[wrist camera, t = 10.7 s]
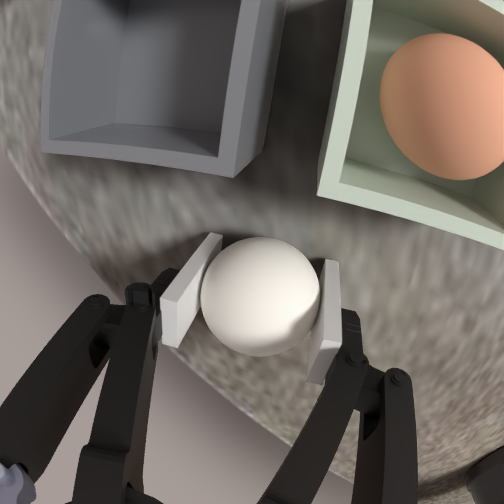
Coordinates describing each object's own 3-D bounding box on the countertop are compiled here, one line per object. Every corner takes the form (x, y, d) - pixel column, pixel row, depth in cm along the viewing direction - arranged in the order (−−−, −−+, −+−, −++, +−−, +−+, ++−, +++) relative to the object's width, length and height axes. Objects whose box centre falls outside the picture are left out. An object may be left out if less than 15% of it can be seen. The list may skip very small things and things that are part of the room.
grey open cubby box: (263, 149, 15) (233, 177, 10) (112, 131, 16) (41, 152, 11) (290, -16, 11) (273, -70, 6) (130, -12, 12) (62, -35, 7)
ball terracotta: (460, 177, 13) (523, 220, 8) (356, 143, 14) (384, 170, 8) (483, 72, 10) (555, 71, 5) (377, 29, 11) (415, -10, 6)
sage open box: (471, 206, 14) (524, 257, 9) (317, 161, 15) (316, 195, 10) (505, 57, 10) (571, 52, 4) (347, -6, 11) (360, -57, 5)
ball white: (308, 319, 19) (296, 392, 14) (217, 295, 20) (180, 359, 15) (335, 234, 17) (334, 297, 11) (228, 208, 17) (182, 258, 12)
